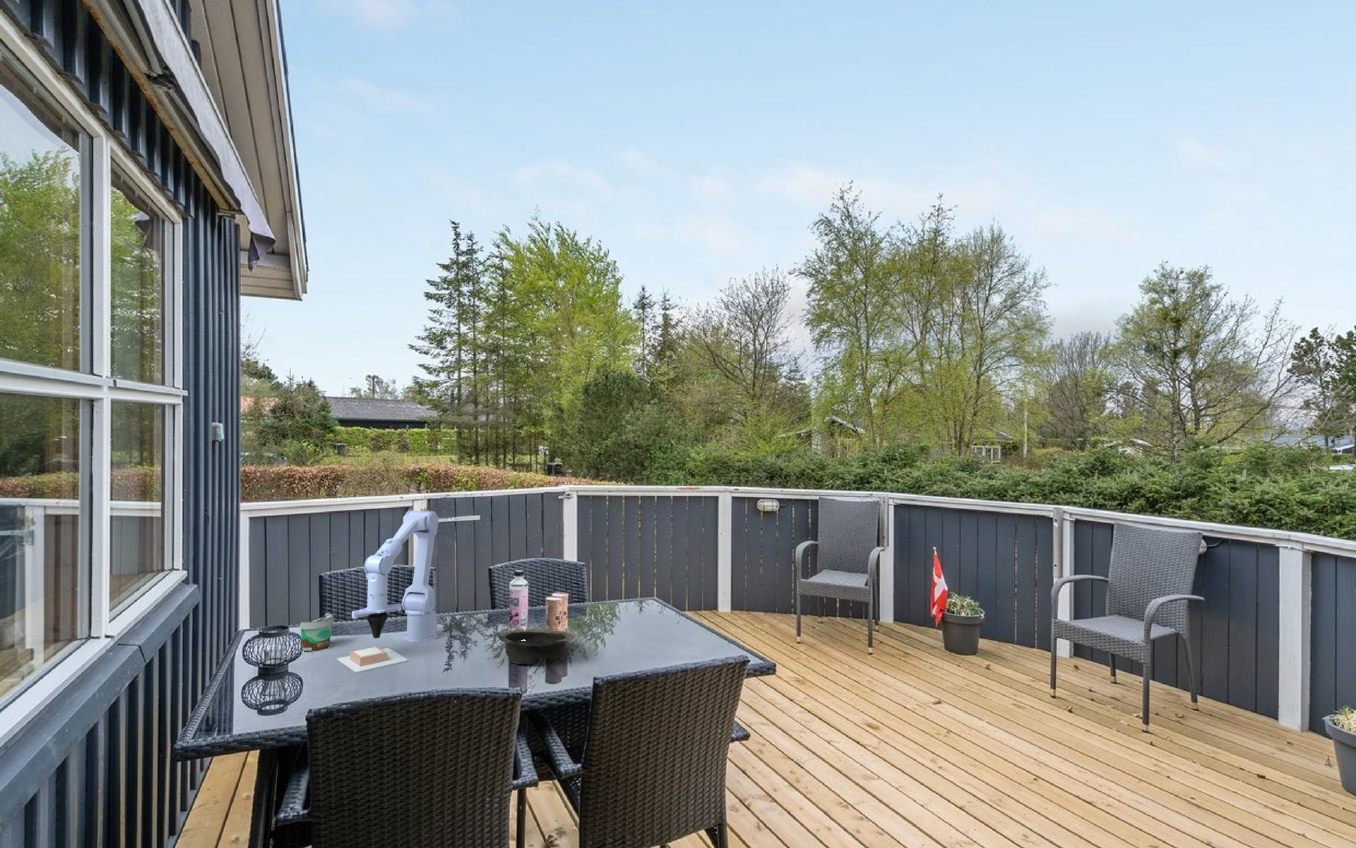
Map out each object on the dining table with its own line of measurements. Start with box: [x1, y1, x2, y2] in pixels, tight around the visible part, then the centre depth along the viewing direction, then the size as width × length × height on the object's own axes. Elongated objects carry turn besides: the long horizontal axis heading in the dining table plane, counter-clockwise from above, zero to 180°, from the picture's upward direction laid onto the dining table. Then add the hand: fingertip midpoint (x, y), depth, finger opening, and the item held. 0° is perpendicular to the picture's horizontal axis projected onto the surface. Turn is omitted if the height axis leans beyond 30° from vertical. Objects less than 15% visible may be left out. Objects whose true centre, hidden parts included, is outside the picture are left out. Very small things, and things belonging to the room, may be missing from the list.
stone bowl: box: [496, 628, 576, 665], centre depth 222 cm, size 25×25×9 cm
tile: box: [349, 646, 387, 666], centre depth 214 cm, size 3×8×8 cm
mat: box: [334, 646, 411, 674], centre depth 215 cm, size 16×18×1 cm
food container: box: [299, 612, 335, 653], centre depth 225 cm, size 12×6×10 cm, turn 168°
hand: (376, 637), depth 216 cm, fingers closed
